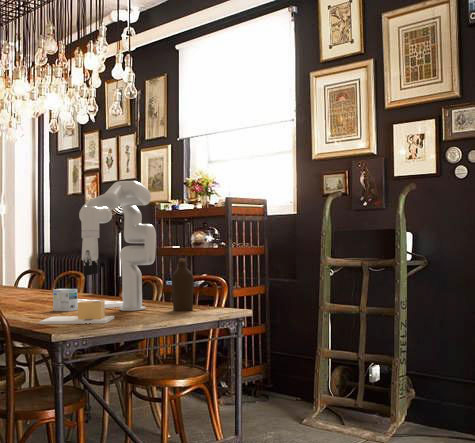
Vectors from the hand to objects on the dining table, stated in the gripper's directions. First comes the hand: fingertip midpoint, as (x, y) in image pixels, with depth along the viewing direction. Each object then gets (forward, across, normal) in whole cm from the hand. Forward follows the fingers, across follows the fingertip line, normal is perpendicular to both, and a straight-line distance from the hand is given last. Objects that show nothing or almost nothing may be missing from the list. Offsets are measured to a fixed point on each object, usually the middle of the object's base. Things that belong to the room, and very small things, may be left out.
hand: (91, 274), depth 277 cm
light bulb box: (+20, -43, -25) cm, 54 cm away
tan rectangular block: (+19, 0, 0) cm, 19 cm away
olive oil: (+20, -37, +35) cm, 55 cm away
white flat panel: (+20, 0, -6) cm, 21 cm away
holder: (+21, -68, -19) cm, 74 cm away
